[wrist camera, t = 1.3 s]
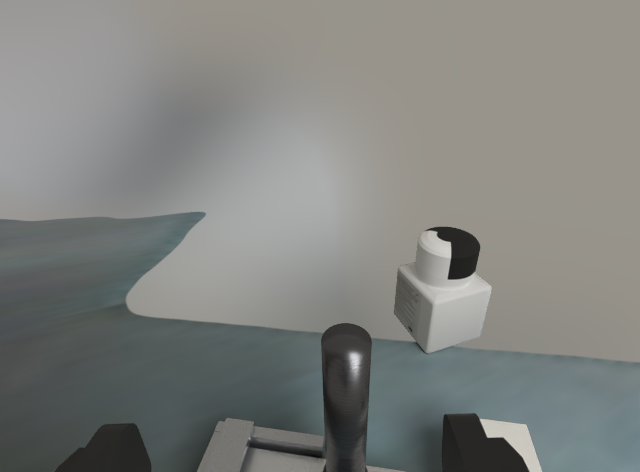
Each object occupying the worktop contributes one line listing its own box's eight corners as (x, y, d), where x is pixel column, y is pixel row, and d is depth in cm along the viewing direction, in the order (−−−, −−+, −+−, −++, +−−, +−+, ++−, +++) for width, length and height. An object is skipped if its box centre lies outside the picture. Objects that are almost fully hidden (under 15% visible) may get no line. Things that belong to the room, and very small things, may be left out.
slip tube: (219, 503, 29) (169, 345, 21) (234, 460, 32) (196, 305, 24) (422, 540, 27) (459, 377, 18) (419, 489, 30) (450, 329, 21)
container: (442, 299, 51) (456, 215, 45) (481, 338, 45) (504, 245, 39) (392, 313, 49) (400, 227, 43) (426, 355, 43) (440, 261, 36)
